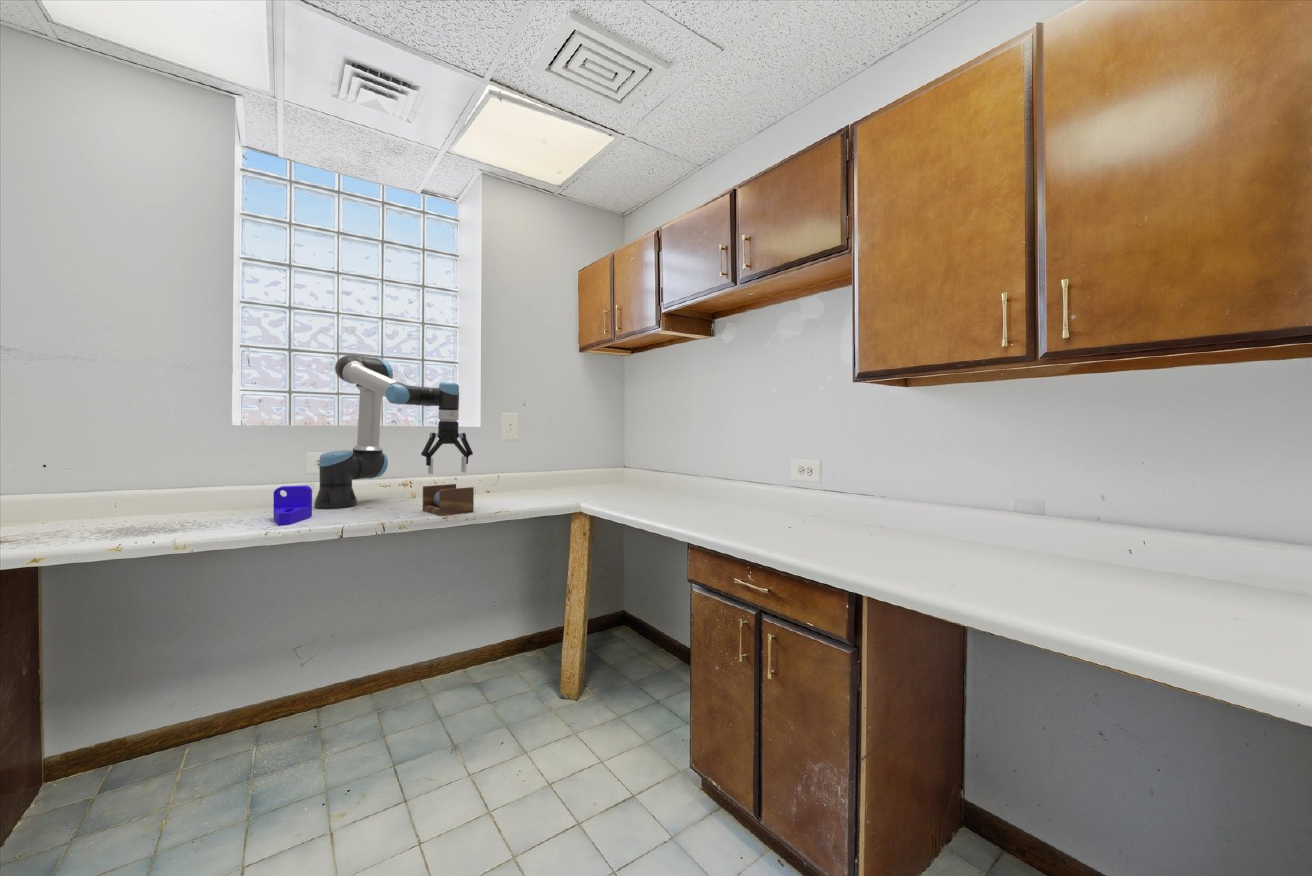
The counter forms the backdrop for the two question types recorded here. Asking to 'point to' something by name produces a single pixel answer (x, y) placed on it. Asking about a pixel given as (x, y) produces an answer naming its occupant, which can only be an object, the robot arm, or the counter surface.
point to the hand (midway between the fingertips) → (447, 473)
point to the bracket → (292, 504)
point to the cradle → (448, 499)
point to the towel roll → (436, 499)
